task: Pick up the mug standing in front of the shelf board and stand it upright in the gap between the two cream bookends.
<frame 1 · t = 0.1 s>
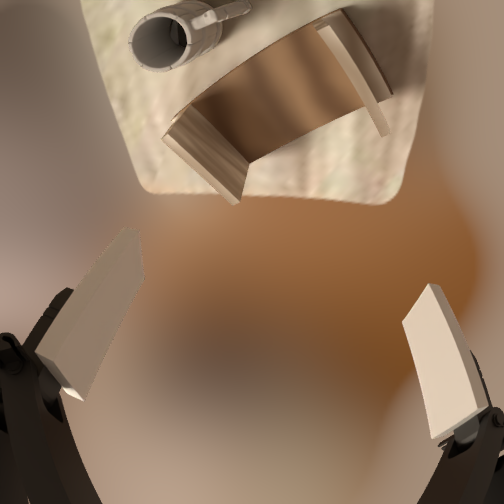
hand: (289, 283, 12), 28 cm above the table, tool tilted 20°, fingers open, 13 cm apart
shelf: (277, 95, 30), on the table
mug: (209, 20, 23), on the table
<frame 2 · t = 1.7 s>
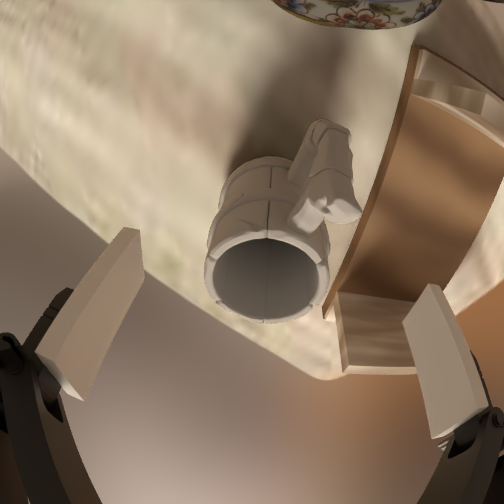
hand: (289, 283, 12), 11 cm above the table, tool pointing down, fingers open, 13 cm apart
shelf: (426, 213, 21), on the table
mug: (284, 176, 21), on the table
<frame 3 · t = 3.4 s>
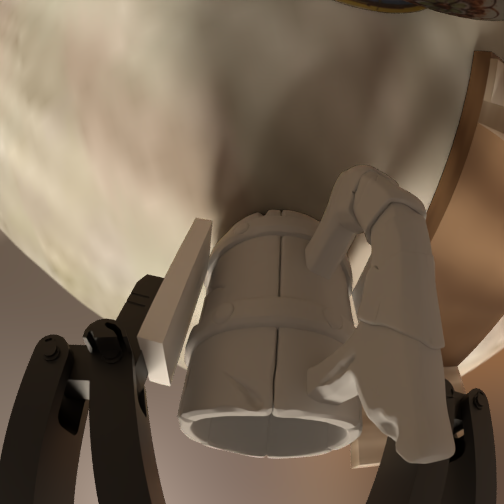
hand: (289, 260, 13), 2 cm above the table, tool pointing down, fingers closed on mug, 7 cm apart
shelf: (467, 274, 15), on the table
mug: (297, 235, 15), on the table, touching gripper
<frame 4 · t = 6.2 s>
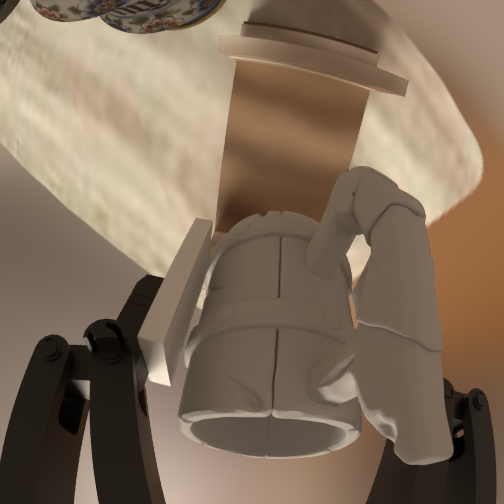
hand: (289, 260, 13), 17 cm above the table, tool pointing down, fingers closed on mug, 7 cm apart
shelf: (286, 158, 26), on the table
mug: (297, 236, 15), point 14 cm above the table, touching gripper
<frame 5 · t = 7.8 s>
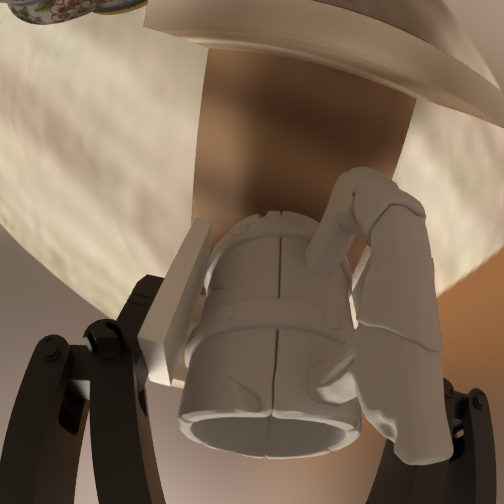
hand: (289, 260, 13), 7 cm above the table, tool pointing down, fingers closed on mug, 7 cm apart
shelf: (286, 197, 18), on the table
mug: (297, 236, 15), point 5 cm above the table, touching gripper
when the fingers open (5 cm above the table, at t = 9.0 s): mug drops 1 cm, resting on shelf.
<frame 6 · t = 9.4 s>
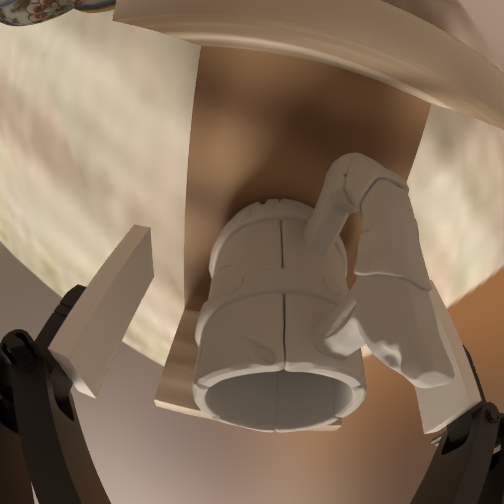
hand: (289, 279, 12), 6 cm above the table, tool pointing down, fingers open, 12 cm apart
shelf: (287, 210, 17), on the table
mug: (294, 223, 16), point 1 cm above the table, touching shelf
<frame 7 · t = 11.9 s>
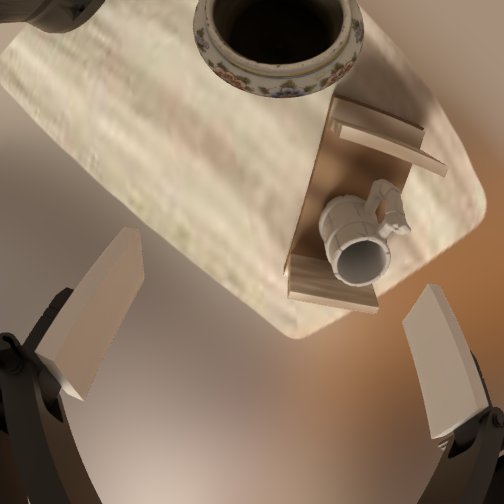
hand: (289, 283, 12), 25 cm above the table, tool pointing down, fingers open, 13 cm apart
shelf: (349, 201, 35), on the table
apothecary jar: (280, 49, 26), on the table
mug: (354, 206, 34), point 1 cm above the table, touching shelf
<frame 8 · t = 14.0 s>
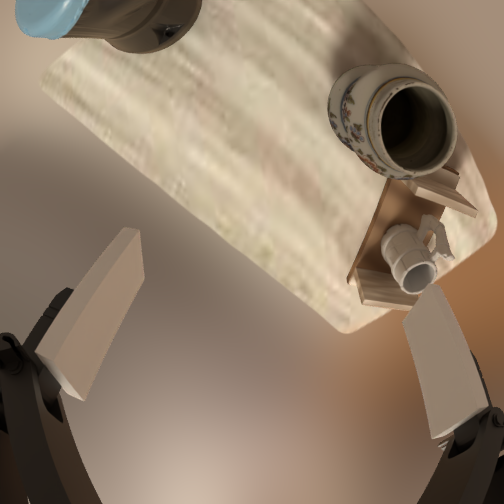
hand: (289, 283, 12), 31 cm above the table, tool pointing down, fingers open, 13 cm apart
shelf: (401, 227, 43), on the table
apothecary jar: (362, 106, 33), on the table
mug: (405, 231, 42), point 1 cm above the table, touching shelf
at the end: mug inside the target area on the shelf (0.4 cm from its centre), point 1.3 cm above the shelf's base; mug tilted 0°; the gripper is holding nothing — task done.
